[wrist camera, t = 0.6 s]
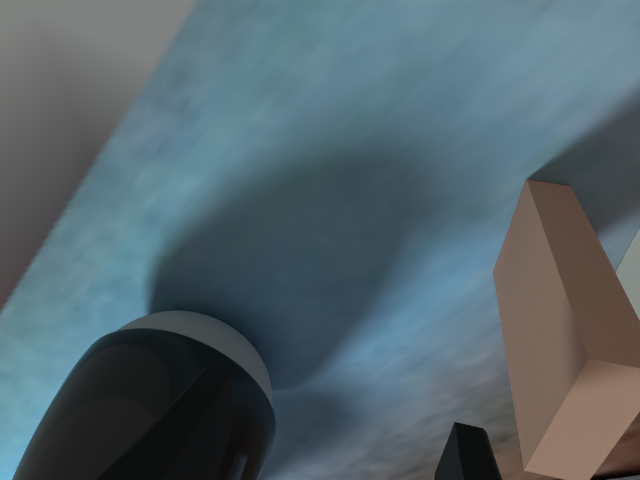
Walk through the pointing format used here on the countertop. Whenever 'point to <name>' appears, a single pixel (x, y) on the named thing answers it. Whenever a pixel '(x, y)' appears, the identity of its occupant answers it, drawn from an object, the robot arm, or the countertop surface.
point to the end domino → (565, 336)
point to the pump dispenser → (150, 397)
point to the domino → (631, 273)
